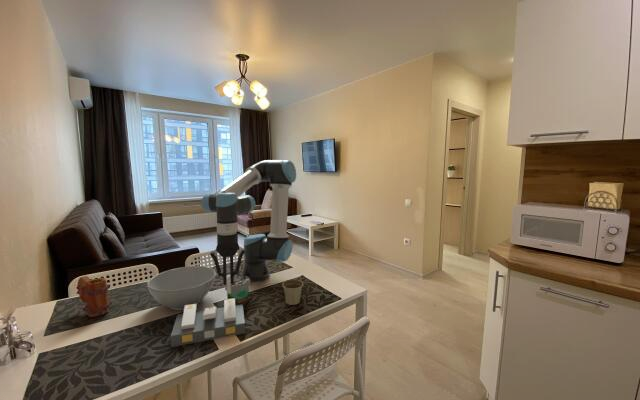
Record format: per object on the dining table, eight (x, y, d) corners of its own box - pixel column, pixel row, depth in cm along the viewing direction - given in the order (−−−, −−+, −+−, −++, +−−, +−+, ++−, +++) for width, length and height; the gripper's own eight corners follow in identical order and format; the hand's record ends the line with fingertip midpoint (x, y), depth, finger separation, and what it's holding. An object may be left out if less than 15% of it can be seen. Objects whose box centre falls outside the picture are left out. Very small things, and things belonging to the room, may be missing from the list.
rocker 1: (185, 308, 101) (184, 305, 100) (196, 307, 102) (196, 303, 102) (181, 329, 92) (181, 325, 92) (194, 327, 94) (193, 323, 93)
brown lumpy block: (116, 310, 112) (114, 276, 110) (95, 321, 104) (91, 284, 102) (93, 304, 116) (90, 271, 115) (71, 314, 109) (67, 279, 107)
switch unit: (178, 324, 103) (177, 311, 102) (242, 313, 111) (242, 302, 110) (171, 347, 89) (170, 333, 89) (245, 333, 97) (244, 320, 97)
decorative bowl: (227, 302, 119) (226, 277, 118) (160, 328, 100) (158, 297, 98) (201, 284, 137) (200, 262, 136) (141, 303, 118) (139, 277, 117)
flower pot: (300, 308, 115) (300, 289, 114) (279, 306, 117) (279, 287, 116) (305, 298, 124) (305, 280, 123) (286, 296, 126) (286, 278, 125)
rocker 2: (205, 312, 103) (205, 308, 103) (216, 310, 105) (216, 306, 105) (203, 319, 94) (203, 314, 94) (215, 317, 95) (215, 312, 95)
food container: (235, 311, 112) (234, 288, 111) (225, 307, 115) (224, 285, 114) (256, 299, 123) (256, 278, 121) (247, 295, 126) (246, 275, 125)
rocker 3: (224, 302, 106) (224, 299, 105) (234, 301, 107) (234, 298, 106) (224, 322, 97) (224, 318, 96) (235, 320, 98) (235, 316, 98)
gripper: (208, 236, 96) (210, 298, 99) (245, 234, 101) (246, 293, 103) (209, 232, 103) (211, 290, 106) (244, 230, 108) (245, 286, 110)
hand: (228, 292), depth 104 cm, fingers closed
